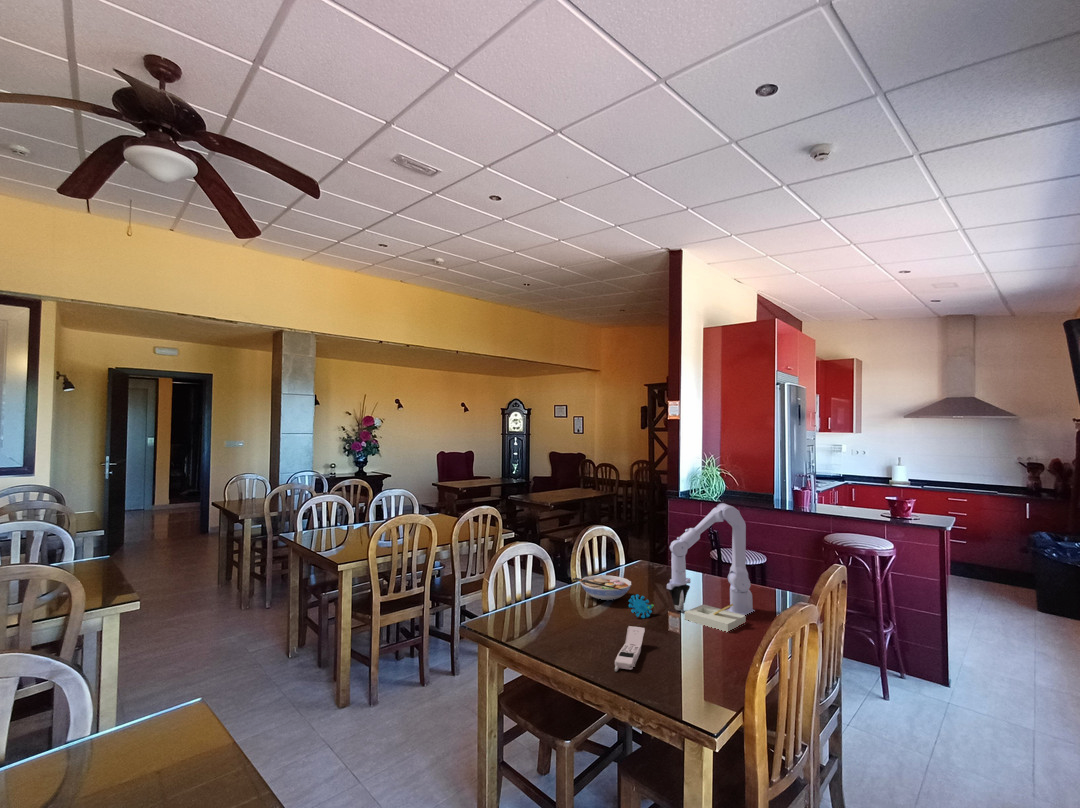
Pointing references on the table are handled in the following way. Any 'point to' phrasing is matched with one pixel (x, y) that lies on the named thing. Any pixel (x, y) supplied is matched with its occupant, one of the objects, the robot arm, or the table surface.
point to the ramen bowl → (605, 586)
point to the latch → (723, 609)
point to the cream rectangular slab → (715, 617)
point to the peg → (681, 603)
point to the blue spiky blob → (640, 606)
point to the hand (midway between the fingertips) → (679, 603)
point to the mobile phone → (630, 648)
